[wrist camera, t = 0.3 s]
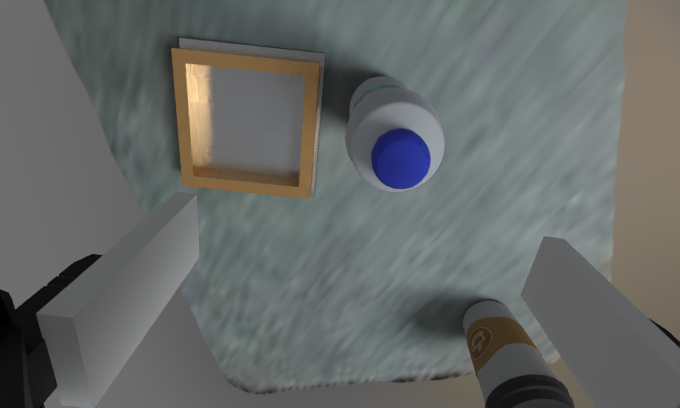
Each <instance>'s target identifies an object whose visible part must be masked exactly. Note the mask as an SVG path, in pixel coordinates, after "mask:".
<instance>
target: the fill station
mask: <svg viewBox="0 0 680 408" xmlns="http://www.w3.org/2000/svg"><path fill="white" fill-rule="evenodd" d="M179 44H180V47H179V48H171V51H172V63H173V75H174V88H175V100H176V112H177V125H178V137H179V149H180V162H181V174H182V186H189V187H199V188H209V189H219V190H228V191H238V192H248V193H257V194H267V195H277V196H287V197H296V198H306V199H310V196H311V197H314V195H315V187H316V174H317V161H318V148H319V136H320V123H321V110H322V97H323V84H324V71H325V58H326V53H318V52H309V51H300V50H291V49H281V48H272V47H263V46H254V45H245V44H235V43H226V42H217V41H208V40H199V39H189V38H179Z"/></svg>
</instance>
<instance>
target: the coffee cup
mask: <svg viewBox="0 0 680 408" xmlns="http://www.w3.org/2000/svg"><path fill="white" fill-rule="evenodd" d="M463 328H464V332H465V335H466V339H467V345H468V348H469V352H470V355H471V359H472V362H473V366H474V369H475V373H476V376H477V378H478V380H479V383H480V387H481V390H482V393H483V397H484V401H485V406H486V407H485V408H574V404H573V401H572V398H571V397H570V396H569V393H568V390H567V388H566V387H565V386H564V385H563V383H561V382H560V381H559V380H558V379H557V377H556V376H555V375H554V373H553V372H552V370H551V369H550V367H549V366H548V364H547V363H546V362H545V360H544V359H543V357H542V355H541V353H540V352H539V350H538V349H537V347H536V346H535V345H534V343H533V342H532V340H531V339H530V338H529V336H528V335H527V333H526V332H525V330H524V329H523V328H522V326H521V325H520V324H519V323H518V322H517V320H516V319H515V317H514V316H513V314H512V313H511V312H510V310H509V309H508V308H507V307H506V306H504V305H503V304H500V303H499V302H496V301H489V300H487V301H481V302H478V303H476V304H474V305H472V306H471V307H470V308H469V309H468V310H467V311H466V313H465V315H464V319H463Z"/></svg>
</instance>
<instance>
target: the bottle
mask: <svg viewBox="0 0 680 408" xmlns="http://www.w3.org/2000/svg"><path fill="white" fill-rule="evenodd" d="M349 114H350V118H349V121H348V124H347V128H346V135H345V140H346V148H347V152H348V155H349V157H350V159H351V161H352V162H353V164H354V166H355V168H356V170H357V172H358V173H359V175H360V176H361V177H362V178H363V179H364V180H365V181H366V182H367V183H369V184H370V185H372V186H373V187H375V188H378V189H380V190H384V191H388V192H402V191H407V190H411V189H413V188H416V187H418V186H420V185H421V184H423V183H424V182H426V181H427V180H428V179H429V178H430V177H431V176H432V175H433V174H434V173H435V171H436V170H437V168H438V167H439V165H440V163H441V160H442V157H443V154H444V135H443V131H442V128H441V126H440V121H439V118H438V115H437V113H436V111H435V110H434V108H433V107H432V105H431V104H430V103H429V102H428V101H427V100H426V99H425V98H423V97H422V96H420V95H419V94H417V93H415V92H413V91H410V90H408V89H407V87H406V86H405V85H404V84H403V83H401V82H400V81H398V80H396V79H394V78H392V77H388V76H379V77H373V78H370V79H368V80H366V81H364V82H363V83H362V84H361V85H360V86H359V87H358V88H357V89H356V91H355V92H354V94H353V96H352V98H351V101H350V108H349Z"/></svg>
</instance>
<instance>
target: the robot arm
mask: <svg viewBox="0 0 680 408" xmlns="http://www.w3.org/2000/svg"><path fill="white" fill-rule="evenodd" d="M198 259H199V240H198V217H197V194H189V193H180V192H175V193H174V194H173V195H172V196H171V197H169V198H168V199H167V200H166V201H165V202H164V203H163V204H161V205H160V206H159V207H158V208H157V209H156V210H154V211H153V212H152V213H151V214H150V215H149V216H148V217H146V218H145V219H144V220H143V221H142V222H141V223H140V224H138V225H137V226H136V227H135V228H134V229H133V230H131V231H130V232H129V233H128V234H127V235H126V236H125V237H124V238H122V239H121V240H120V241H119V242H118V243H116V245H114V246H113V247H112V248H111V249H110V250H108V251H107V252H106V253H105V254H104V255H96V254H91V255H89V256H87V257H85V258H83V259H81V260H79V261H76V262H74V263H73V264H71V265H70V266H69V267H68V268H66V269H65V270H64V271H63V272H61V273H60V274H59V277H55V278H54V279H53V280H51V281H50V282H49V283H48V285H47V286H44V287H43V288H41V289H40V290H39V291H38V292H36V293H35V294H34V295H33V296H32V297H30V298H29V299H28V300H27V301H25V302H24V303H23V304H22V305H20V306H19V307H18V308H17V309H15V308H14V304H13V301H12V298H11V296H10V295H9V293H8V292H6V291H3V290H0V408H45V406H44V402H45V401H46V399H47V398H48V397H49V396H50V395H51V393H52V392H53V391H54V390H55V389H56V388H57V392H58V396H59V399H60V403H61V405H65V406H75V407H84V408H94V407H95V406H96V405H97V403H98V402H99V400H100V399H101V397H102V396H103V395H104V393H105V392H106V390H107V389H108V387H109V386H110V385H111V383H112V382H113V380H114V379H115V377H116V376H117V375H118V373H119V372H120V370H121V369H122V367H123V366H124V365H125V363H126V362H127V360H128V359H129V357H130V356H131V354H132V353H133V352H134V350H135V349H136V347H137V346H138V344H139V343H140V342H141V340H142V339H143V337H144V336H145V334H146V333H147V332H148V330H149V328H150V327H151V326H152V324H153V323H154V321H155V320H156V319H157V317H158V316H159V314H160V313H161V311H162V310H163V309H164V307H165V306H166V304H167V303H168V302H169V300H170V299H171V297H172V296H173V294H174V293H175V291H176V290H177V288H178V287H179V286H180V284H181V283H182V281H183V280H184V279H185V277H186V276H187V274H188V273H189V271H190V270H191V269H192V267H193V266H194V264H195V263H196V261H197V260H198ZM521 296H522V298H523V299H524V301H525V302H526V304H527V305H528V307H529V308H530V310H531V311H532V313H533V314H534V316H535V317H536V319H537V320H538V322H539V324H540V325H541V327H542V328H543V330H544V331H545V333H546V334H547V336H548V337H549V339H550V340H551V342H552V343H553V345H554V346H555V348H556V349H557V351H558V352H559V354H560V355H561V357H562V358H563V360H564V361H565V363H566V364H567V366H568V367H569V369H570V370H571V372H572V373H573V375H574V376H575V378H576V379H577V381H578V382H579V384H580V386H581V387H582V389H583V390H584V392H585V393H586V394H587V396H588V398H589V399H590V401H591V402H592V404H593V405H594V407H595V408H680V342H679V341H678V340H677V339H676V338H675V337H674V336H673V335H672V334H671V333H670V332H668V331H667V330H666V329H664V328H663V327H661V326H660V325H658V324H657V323H655V322H654V321H652V320H651V319H649V318H647V317H646V316H645V315H644V314H643V313H642V312H640V310H639V309H638V308H637V307H635V305H633V304H632V303H631V302H630V301H629V300H628V299H627V298H626V297H625V296H624V295H623V294H622V293H621V292H620V291H619V290H617V288H615V287H614V286H613V285H612V284H611V283H610V282H609V281H608V280H607V279H606V278H605V277H604V276H603V275H602V274H601V273H600V272H598V271H597V270H596V269H595V268H594V267H593V266H592V265H591V264H590V263H589V262H588V261H587V260H586V259H585V258H584V257H583V256H581V255H580V254H579V253H578V252H577V251H576V250H575V249H574V248H573V247H572V246H571V245H570V244H569V243H568V242H567V241H566V240H564V239H562V238H553V237H545V236H544V237H543V240H542V242H541V245H540V247H539V250H538V253H537V255H536V258H535V260H534V263H533V265H532V268H531V270H530V273H529V275H528V278H527V280H526V283H525V285H524V288H523V290H522V293H521Z"/></svg>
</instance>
